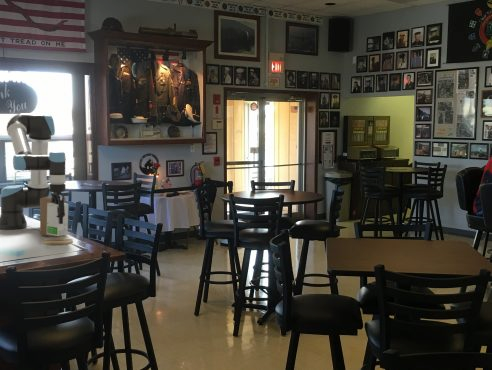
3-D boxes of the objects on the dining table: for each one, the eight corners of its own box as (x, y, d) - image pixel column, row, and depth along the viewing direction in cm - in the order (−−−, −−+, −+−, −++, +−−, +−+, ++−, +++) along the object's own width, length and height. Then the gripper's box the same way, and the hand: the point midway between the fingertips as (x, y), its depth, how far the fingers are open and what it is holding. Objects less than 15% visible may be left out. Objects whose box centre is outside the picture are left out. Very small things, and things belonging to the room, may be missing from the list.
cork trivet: (39, 241, 277) (39, 238, 277) (68, 238, 284) (68, 236, 284) (46, 246, 265) (46, 243, 265) (76, 243, 273) (76, 241, 272)
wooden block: (66, 233, 298) (66, 196, 296) (58, 237, 288) (57, 198, 287) (48, 232, 299) (47, 195, 297) (39, 236, 289) (39, 198, 287)
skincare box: (46, 234, 273) (45, 203, 272) (56, 232, 279) (56, 201, 278) (58, 236, 269) (58, 204, 268) (68, 234, 275) (68, 203, 274)
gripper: (43, 181, 279) (44, 225, 281) (55, 185, 261) (55, 232, 263) (59, 181, 283) (59, 224, 285) (71, 185, 265) (71, 231, 267)
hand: (57, 228), depth 274 cm, fingers closed on skincare box, 10 cm apart
